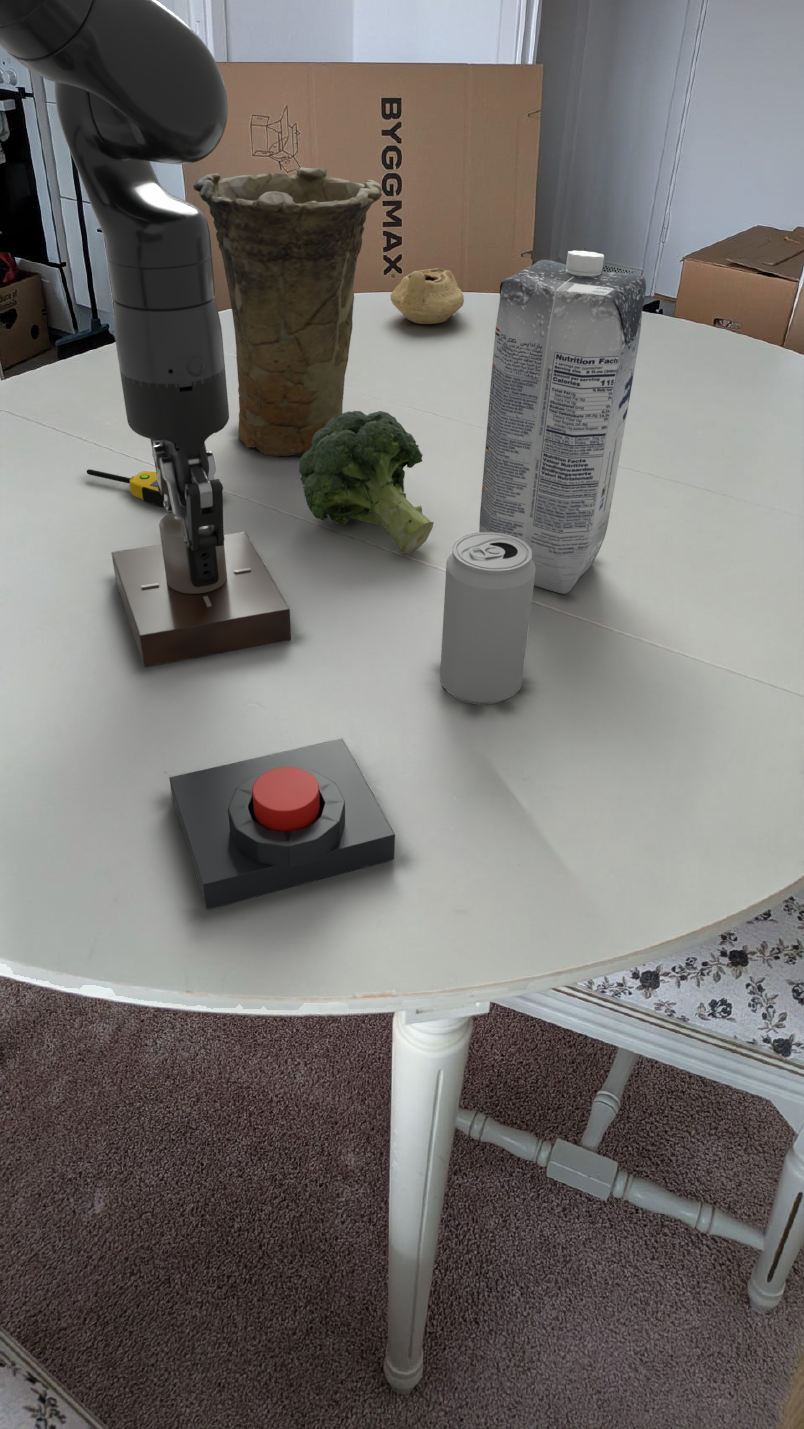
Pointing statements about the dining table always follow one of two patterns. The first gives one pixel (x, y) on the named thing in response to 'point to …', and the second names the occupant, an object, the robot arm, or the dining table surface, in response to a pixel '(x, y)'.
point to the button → (286, 799)
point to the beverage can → (486, 617)
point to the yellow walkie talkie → (138, 485)
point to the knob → (184, 558)
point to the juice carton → (559, 409)
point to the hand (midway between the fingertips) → (196, 566)
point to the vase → (289, 296)
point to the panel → (200, 605)
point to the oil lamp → (428, 296)
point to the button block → (262, 860)
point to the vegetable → (364, 475)
